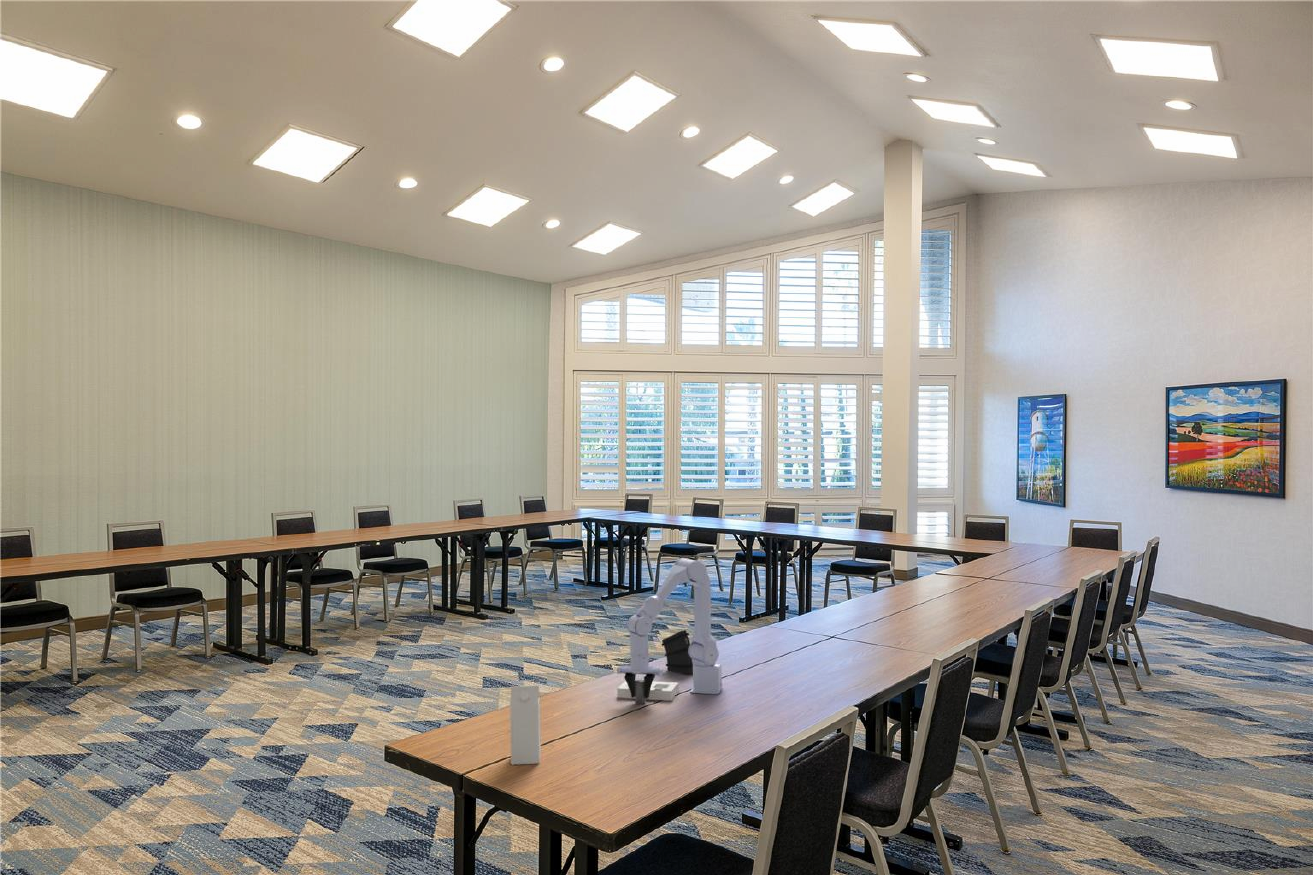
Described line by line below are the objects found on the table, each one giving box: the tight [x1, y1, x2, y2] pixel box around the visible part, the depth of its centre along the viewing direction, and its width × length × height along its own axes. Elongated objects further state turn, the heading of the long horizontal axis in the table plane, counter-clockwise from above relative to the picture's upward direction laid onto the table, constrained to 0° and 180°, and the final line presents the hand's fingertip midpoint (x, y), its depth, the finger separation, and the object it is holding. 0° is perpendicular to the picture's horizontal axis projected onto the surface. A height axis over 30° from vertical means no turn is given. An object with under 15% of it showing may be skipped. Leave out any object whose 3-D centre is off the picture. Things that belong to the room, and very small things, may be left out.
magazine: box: [661, 629, 693, 676], centre depth 301 cm, size 4×13×15 cm, turn 44°
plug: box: [634, 679, 646, 706], centre depth 264 cm, size 3×3×7 cm
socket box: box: [616, 679, 680, 701], centre depth 273 cm, size 18×10×3 cm, turn 75°
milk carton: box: [509, 685, 542, 766], centre depth 217 cm, size 7×7×19 cm
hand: (640, 697), depth 264 cm, fingers open, 4 cm apart
